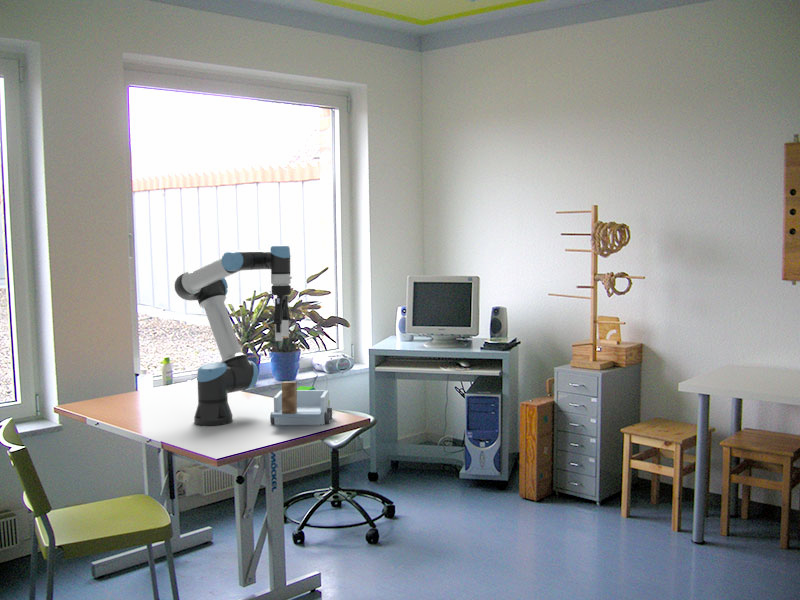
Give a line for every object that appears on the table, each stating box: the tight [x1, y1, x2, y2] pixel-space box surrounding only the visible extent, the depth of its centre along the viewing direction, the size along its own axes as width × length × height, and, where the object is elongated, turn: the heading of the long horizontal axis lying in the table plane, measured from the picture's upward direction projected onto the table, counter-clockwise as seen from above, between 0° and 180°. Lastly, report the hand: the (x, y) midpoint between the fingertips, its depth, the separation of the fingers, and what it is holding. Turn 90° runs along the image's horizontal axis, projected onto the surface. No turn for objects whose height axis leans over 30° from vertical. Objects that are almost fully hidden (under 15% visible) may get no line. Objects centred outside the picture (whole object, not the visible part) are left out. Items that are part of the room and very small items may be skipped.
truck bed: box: [269, 389, 333, 426], centre depth 312 cm, size 23×15×11 cm, turn 88°
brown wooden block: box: [281, 381, 298, 414], centre depth 300 cm, size 5×5×12 cm
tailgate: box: [270, 411, 323, 418], centre depth 300 cm, size 19×2×8 cm
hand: (282, 338), depth 302 cm, fingers open, 13 cm apart
